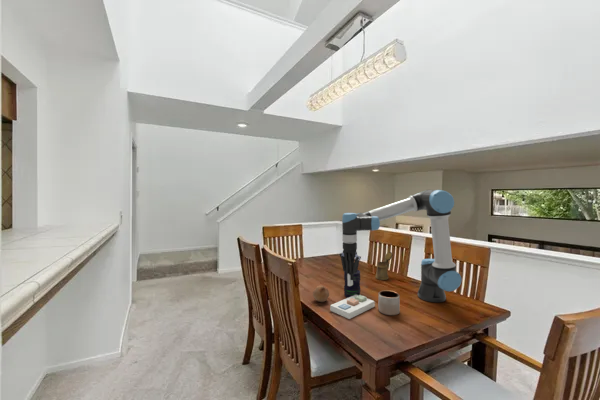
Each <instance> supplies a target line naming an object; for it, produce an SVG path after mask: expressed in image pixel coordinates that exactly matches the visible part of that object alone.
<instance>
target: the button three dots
mask: <svg viewBox="0 0 600 400" xmlns="http://www.w3.org/2000/svg"><path fill="white" fill-rule="evenodd" d="M347 304H349V305H352V306H355V305H357V304H359V300H356V299H353V298H351V299H349V300H347Z"/></svg>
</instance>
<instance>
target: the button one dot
mask: <svg viewBox="0 0 600 400" xmlns="http://www.w3.org/2000/svg"><path fill="white" fill-rule="evenodd" d="M338 307H339V308H341V309H344V310H347V309H349V308H351V306H349V305H346V304H342V305H340V306H338Z"/></svg>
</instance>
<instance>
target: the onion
mask: <svg viewBox="0 0 600 400" xmlns="http://www.w3.org/2000/svg"><path fill="white" fill-rule="evenodd" d="M312 296H313V298H314V300H315V302H318V303H325V302H326V301H327V300H328V299H329V296H330V291H329V289H328V288H327V286H325V285H317V286H315V288H314V289H313V292H312Z"/></svg>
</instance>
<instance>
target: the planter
mask: <svg viewBox="0 0 600 400" xmlns="http://www.w3.org/2000/svg"><path fill="white" fill-rule="evenodd" d="M400 297H401V296H400V293H398V292H397V291H394V290H390V289H389V290H388V289H386V290H385V289H384V290H380V291H379V292H378V297H377V298H378V300H377V301H378V306H377V307H378V312H379V313H381V314H383V315H385V316H397V315H398V314H400V311H401V310H400V309H401V308H400V302H401V301H400Z"/></svg>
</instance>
